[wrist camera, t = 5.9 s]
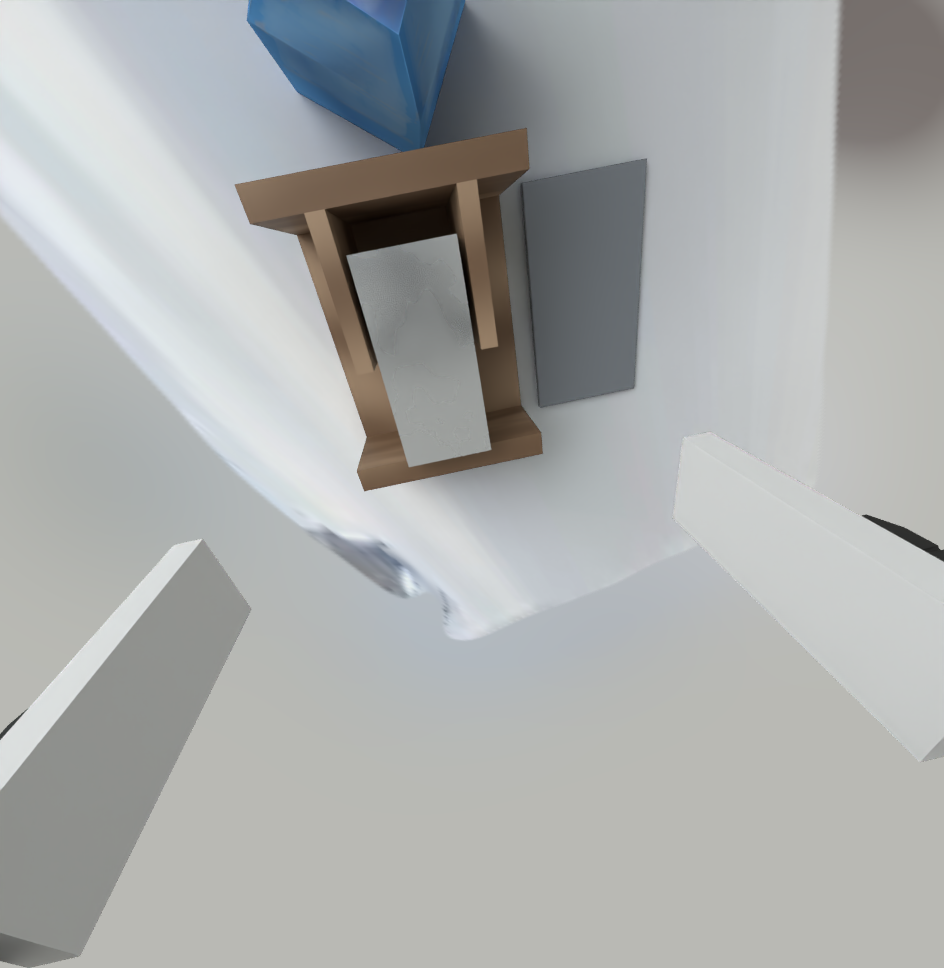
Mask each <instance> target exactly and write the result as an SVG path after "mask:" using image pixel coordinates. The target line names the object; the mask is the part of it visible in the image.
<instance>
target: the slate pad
mask: <svg viewBox="0 0 944 968" xmlns="http://www.w3.org/2000/svg"><path fill="white" fill-rule="evenodd" d="M646 163H647V158H646V159H641V160H636V161H631V162H626V163H621V164H616V165H611V166H606V167H601V168H595V169H590V170H585V171H580V172H575V173H570V174H565V175H560V176H555V177H550V178H545V179H540V180H535V181H529V182H524V183H522V184H521V191H522V203H523V216H524V228H525V241H526V253H527V266H528V278H529V290H530V303H531V315H532V328H533V340H534V353H535V365H536V377H537V390H538V402H539V407H540V408H541V407H545V406H550V405H555V404H560V403H565V402H569V401H574V400H579V399H584V398H589V397H593V396H598V395H603V394H608V393H613V392H617V391H622V390H627V389H632V388H634V377H635V359H636V341H637V323H638V306H639V288H640V270H641V252H642V234H643V216H644V199H645V181H646Z"/></svg>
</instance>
